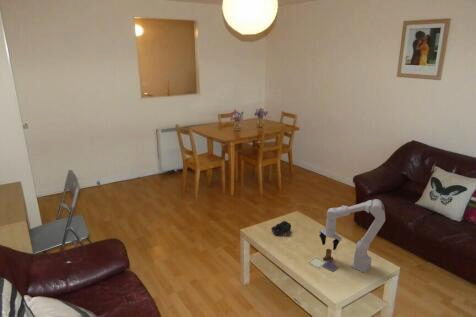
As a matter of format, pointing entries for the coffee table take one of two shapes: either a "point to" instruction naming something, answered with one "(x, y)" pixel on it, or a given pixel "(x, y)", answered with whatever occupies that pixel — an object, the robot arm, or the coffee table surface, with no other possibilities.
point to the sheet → (316, 262)
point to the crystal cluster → (282, 229)
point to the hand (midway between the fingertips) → (329, 246)
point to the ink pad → (330, 266)
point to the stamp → (328, 256)
